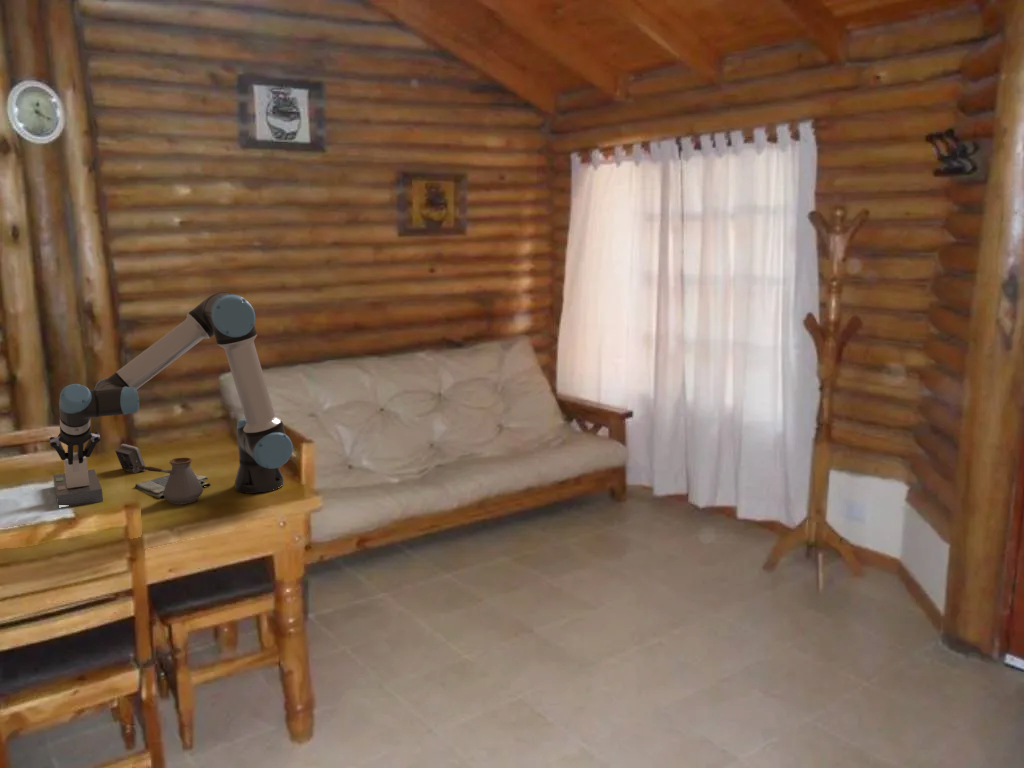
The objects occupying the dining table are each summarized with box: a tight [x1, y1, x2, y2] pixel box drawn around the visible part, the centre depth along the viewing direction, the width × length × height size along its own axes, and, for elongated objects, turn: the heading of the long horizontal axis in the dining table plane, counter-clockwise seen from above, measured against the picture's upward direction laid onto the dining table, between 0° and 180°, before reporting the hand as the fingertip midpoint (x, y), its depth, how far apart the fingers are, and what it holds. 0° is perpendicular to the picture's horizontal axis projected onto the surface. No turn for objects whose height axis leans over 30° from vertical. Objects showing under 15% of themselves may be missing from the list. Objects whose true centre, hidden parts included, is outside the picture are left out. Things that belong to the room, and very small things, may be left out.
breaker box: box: [52, 468, 104, 507], centre depth 257 cm, size 24×12×4 cm, turn 32°
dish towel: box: [134, 473, 212, 500], centre depth 264 cm, size 19×18×3 cm
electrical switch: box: [115, 443, 147, 474], centre depth 280 cm, size 9×5×9 cm, turn 57°
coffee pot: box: [132, 457, 204, 505], centre depth 246 cm, size 21×12×15 cm, turn 149°
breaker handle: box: [63, 457, 89, 488], centre depth 251 cm, size 4×6×9 cm, turn 122°
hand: (75, 467), depth 244 cm, fingers closed
